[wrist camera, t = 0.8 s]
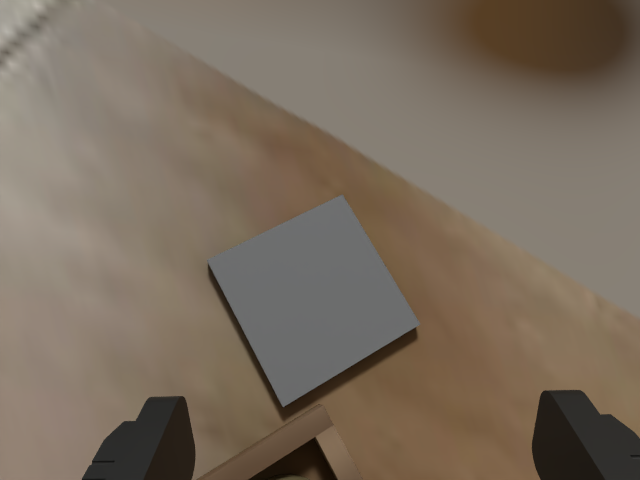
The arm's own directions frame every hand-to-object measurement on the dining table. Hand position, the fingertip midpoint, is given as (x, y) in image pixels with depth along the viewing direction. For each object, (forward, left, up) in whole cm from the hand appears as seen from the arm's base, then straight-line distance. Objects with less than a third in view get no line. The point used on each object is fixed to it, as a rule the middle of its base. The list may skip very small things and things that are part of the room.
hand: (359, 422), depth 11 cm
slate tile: (-5, +4, -19) cm, 20 cm away
